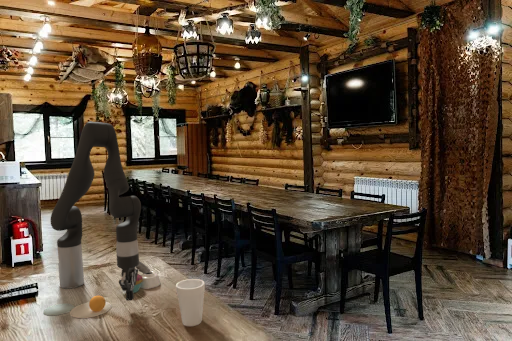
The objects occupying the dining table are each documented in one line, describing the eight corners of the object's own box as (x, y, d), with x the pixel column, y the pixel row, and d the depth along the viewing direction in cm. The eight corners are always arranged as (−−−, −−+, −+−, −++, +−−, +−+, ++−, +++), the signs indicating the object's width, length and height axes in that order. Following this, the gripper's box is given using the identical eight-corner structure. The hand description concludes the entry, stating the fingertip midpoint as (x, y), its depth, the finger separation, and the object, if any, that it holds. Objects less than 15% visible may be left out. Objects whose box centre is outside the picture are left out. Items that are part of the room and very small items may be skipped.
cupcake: (136, 295, 163) (135, 265, 162) (117, 294, 164) (115, 264, 163) (146, 287, 171) (145, 258, 170) (127, 286, 173) (126, 258, 172)
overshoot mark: (38, 311, 151) (38, 311, 151) (64, 301, 159) (64, 301, 159) (52, 318, 145) (52, 317, 145) (79, 307, 153) (79, 307, 153)
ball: (84, 298, 148) (99, 291, 148) (93, 301, 153) (106, 294, 153) (87, 312, 146) (101, 305, 146) (95, 315, 150) (109, 308, 150)
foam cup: (182, 331, 132) (180, 291, 131) (174, 319, 141) (172, 282, 139) (210, 323, 137) (208, 285, 136) (200, 313, 145) (199, 277, 144)
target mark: (61, 312, 149) (61, 311, 149) (96, 298, 161) (96, 298, 161) (84, 321, 141) (84, 321, 141) (119, 306, 153) (119, 306, 153)
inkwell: (150, 290, 168) (149, 266, 167) (116, 284, 176) (115, 261, 175) (165, 282, 176) (163, 259, 175) (131, 277, 184) (130, 255, 183)
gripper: (131, 258, 141) (133, 307, 143) (144, 247, 154) (146, 292, 156) (109, 258, 142) (112, 307, 143) (124, 247, 155) (126, 292, 156)
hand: (130, 299), depth 150 cm, fingers closed
